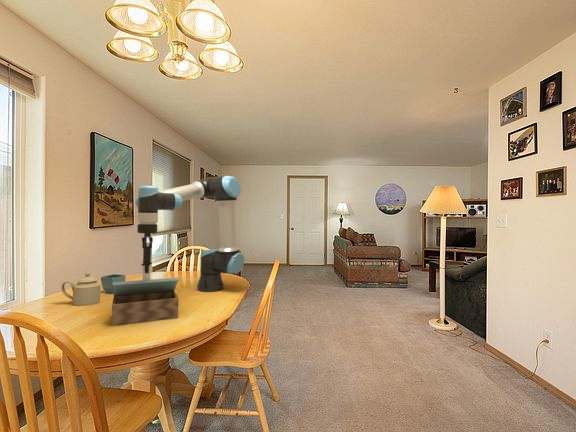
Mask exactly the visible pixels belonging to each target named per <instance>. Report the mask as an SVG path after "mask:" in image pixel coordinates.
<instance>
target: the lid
mask: <svg viewBox="0 0 576 432" xmlns="http://www.w3.org/2000/svg"><path fill="white" fill-rule="evenodd" d="M178 282H179V278H178V277H170V278H154V279H151V278H150V280H143V279H141V280H140V279H138V280H125V281H123V282H113V293H112V294H113V297H114V296H124V295H135V294H146V293H158V292H169V291H174V292H175V290H176V288H177V284H178Z"/></svg>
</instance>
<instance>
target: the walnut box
mask: <svg viewBox="0 0 576 432" xmlns="http://www.w3.org/2000/svg"><path fill="white" fill-rule="evenodd" d="M178 318H179V296H178V295H177V294H176V292H175V290H174V291H169V292H158V293H146V294H135V295H124V296H114V295H113V298H112V304H111V327H115V326H124V325H132V324H139V323H148V322H156V321H162V320H163V321H164V320H170V319H171V320H172V319H178Z"/></svg>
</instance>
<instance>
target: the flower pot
mask: <svg viewBox="0 0 576 432" xmlns="http://www.w3.org/2000/svg"><path fill="white" fill-rule="evenodd" d="M126 277H127V275H126V274H114V273H113V274H108V275H104V276H100V284H101V288H102V290H103V291H104V293H106V294H113V282H123V281H126Z"/></svg>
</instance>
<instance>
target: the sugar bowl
mask: <svg viewBox="0 0 576 432" xmlns="http://www.w3.org/2000/svg"><path fill="white" fill-rule="evenodd" d="M84 274H85V276H84V277H81V278H79V279H77V280H76V282H77V283H76V284H75V285H74V282H73V281H71V280H66V281H64V282H62V284H61V292H62V294H63V295H64V296H65V297H66V298H69V299H70V300H72V305H73V306H78V307H79V306H80V307H82V306H83V307H84V306H91V305H95V304H98V303H100V301H101V294H102V293H101V290H102V283H101V282H98V278H96V277H94V276H90V275H91V273H90V271H89V270H87V271H86V272H85V273H84ZM66 284H70V287H71V290H72V296H71V295H70V294H69V293H67V291H66V289H65V285H66Z"/></svg>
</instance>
